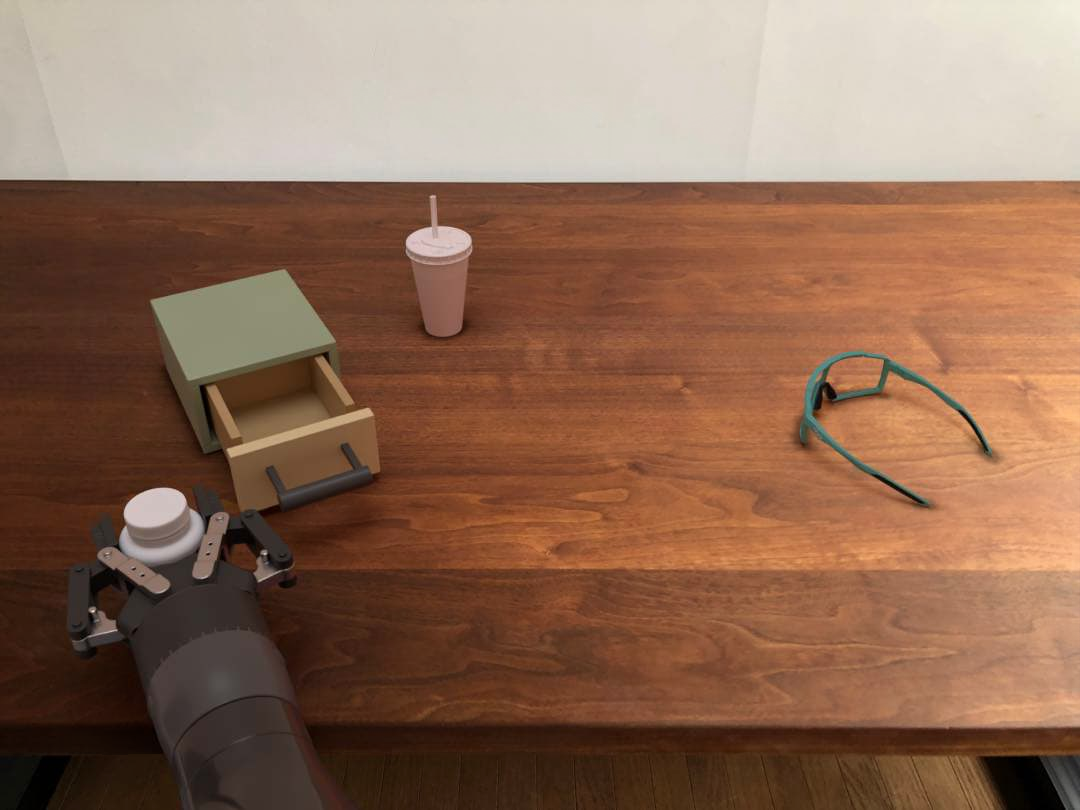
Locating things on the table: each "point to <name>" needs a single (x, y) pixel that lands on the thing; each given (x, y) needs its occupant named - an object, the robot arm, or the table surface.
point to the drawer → (291, 434)
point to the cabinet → (235, 337)
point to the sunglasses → (821, 385)
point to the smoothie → (440, 274)
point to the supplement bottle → (160, 528)
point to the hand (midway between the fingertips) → (154, 509)
